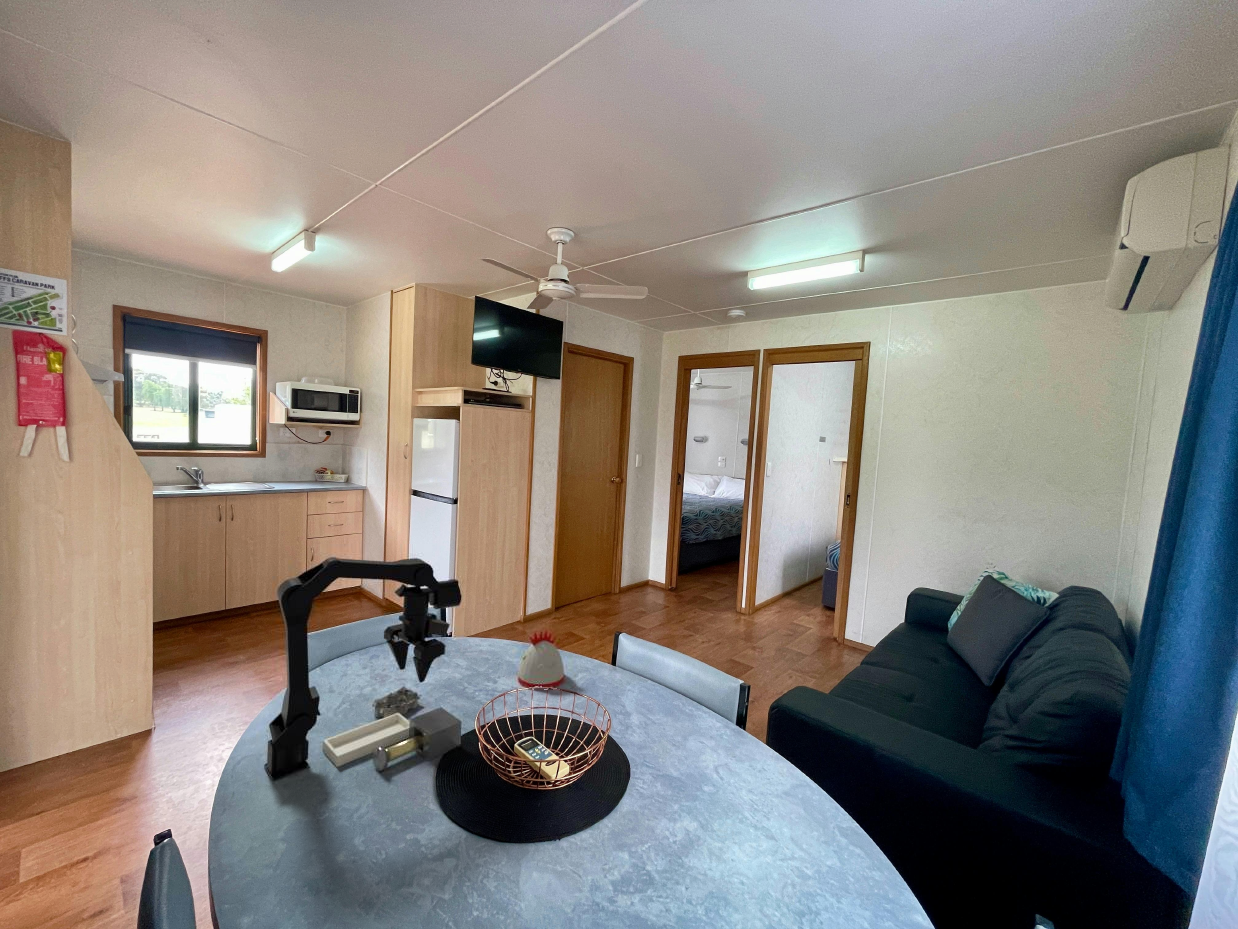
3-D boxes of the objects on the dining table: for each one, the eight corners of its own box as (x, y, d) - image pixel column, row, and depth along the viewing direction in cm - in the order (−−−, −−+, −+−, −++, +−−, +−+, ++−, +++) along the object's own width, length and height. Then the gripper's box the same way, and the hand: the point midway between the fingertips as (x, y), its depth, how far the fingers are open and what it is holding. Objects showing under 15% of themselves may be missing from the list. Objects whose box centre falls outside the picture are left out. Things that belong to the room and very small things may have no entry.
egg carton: (388, 724, 125) (388, 708, 125) (368, 715, 129) (369, 699, 129) (423, 705, 135) (423, 690, 135) (404, 698, 138) (404, 683, 138)
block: (428, 761, 111) (429, 735, 111) (408, 743, 117) (409, 719, 117) (460, 746, 118) (461, 721, 117) (440, 730, 123) (441, 707, 123)
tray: (337, 767, 108) (337, 756, 108) (322, 750, 113) (323, 740, 113) (414, 735, 121) (414, 725, 121) (398, 721, 126) (398, 712, 126)
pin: (381, 775, 106) (382, 753, 106) (372, 765, 109) (373, 744, 109) (439, 749, 116) (440, 729, 116) (429, 740, 119) (430, 721, 119)
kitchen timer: (513, 672, 157) (515, 624, 157) (555, 666, 163) (558, 620, 162) (524, 693, 144) (527, 641, 144) (570, 685, 150) (572, 636, 150)
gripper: (466, 614, 123) (462, 678, 123) (426, 597, 134) (422, 655, 135) (424, 624, 114) (420, 693, 114) (384, 605, 126) (381, 666, 126)
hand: (411, 675), depth 123 cm, fingers open, 9 cm apart
